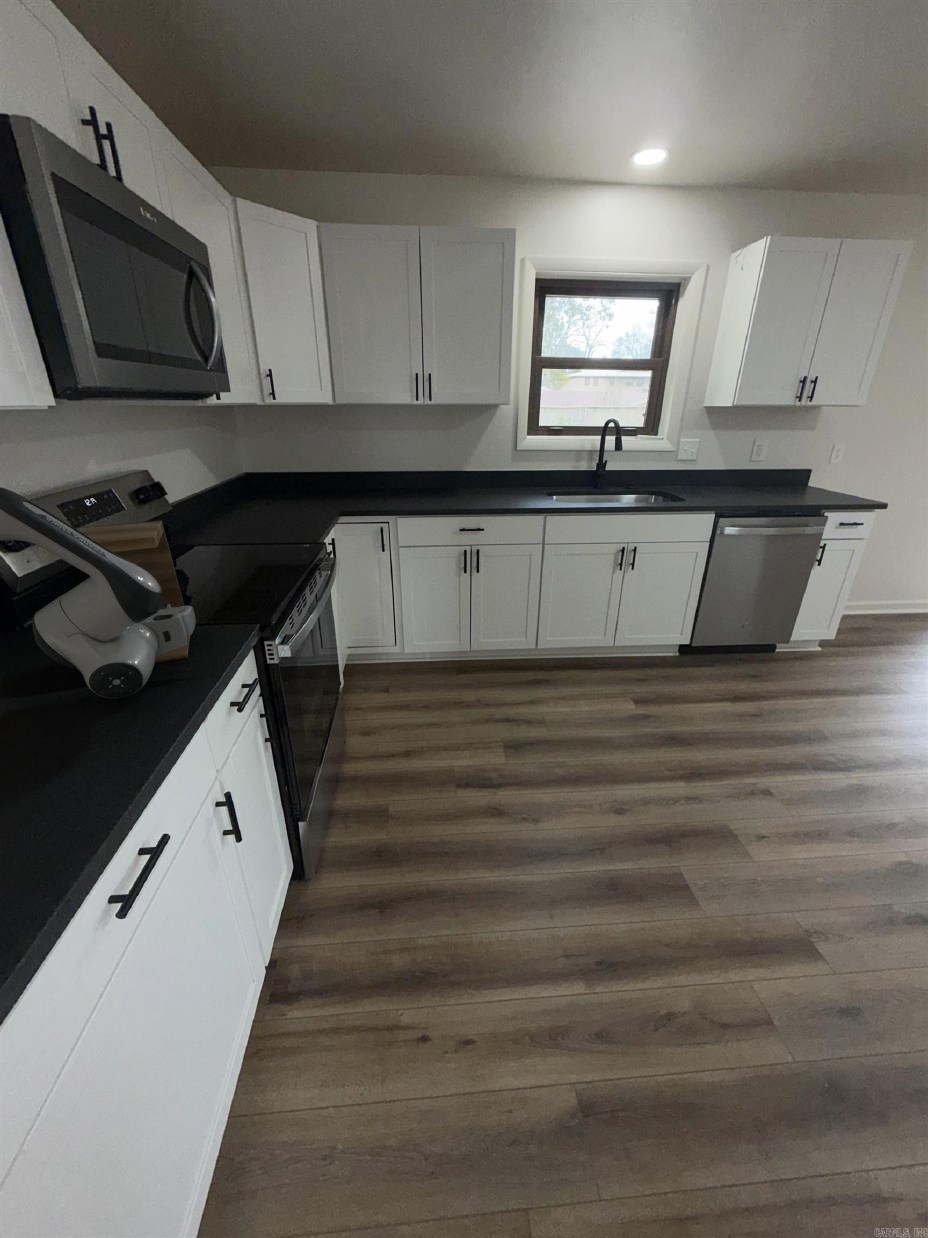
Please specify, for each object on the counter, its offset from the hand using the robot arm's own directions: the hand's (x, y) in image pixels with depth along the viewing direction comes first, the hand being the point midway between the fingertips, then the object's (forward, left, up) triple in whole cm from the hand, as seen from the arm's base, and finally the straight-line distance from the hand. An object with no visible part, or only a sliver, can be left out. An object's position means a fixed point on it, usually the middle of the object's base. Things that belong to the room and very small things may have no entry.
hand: (141, 611), depth 102 cm
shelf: (0, -1, -10) cm, 10 cm away
